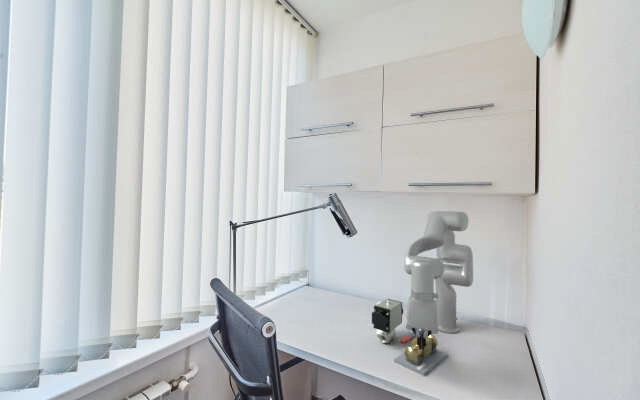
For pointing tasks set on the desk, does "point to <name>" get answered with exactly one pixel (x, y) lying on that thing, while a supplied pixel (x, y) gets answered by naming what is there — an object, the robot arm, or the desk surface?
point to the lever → (409, 337)
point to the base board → (427, 362)
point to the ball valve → (387, 319)
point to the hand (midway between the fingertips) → (421, 347)
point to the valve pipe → (420, 350)
